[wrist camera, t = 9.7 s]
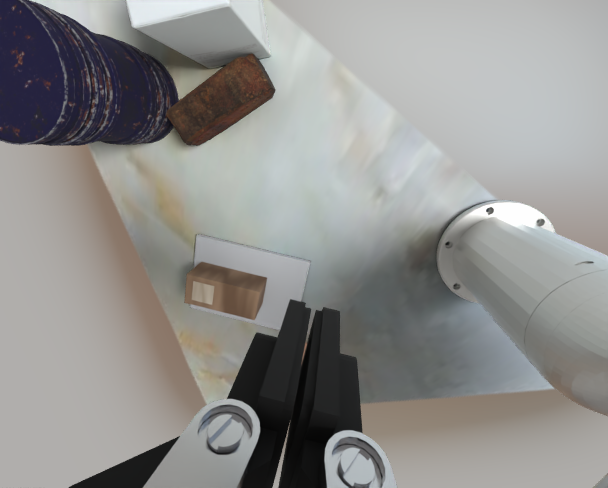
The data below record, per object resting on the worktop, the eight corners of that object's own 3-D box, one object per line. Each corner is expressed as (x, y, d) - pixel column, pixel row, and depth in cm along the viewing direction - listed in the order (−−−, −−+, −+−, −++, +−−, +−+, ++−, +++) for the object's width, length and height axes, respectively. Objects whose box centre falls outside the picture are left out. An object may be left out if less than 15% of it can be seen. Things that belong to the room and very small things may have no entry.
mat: (310, 261, 38) (310, 262, 38) (294, 331, 42) (293, 333, 41) (198, 233, 39) (196, 235, 38) (191, 305, 43) (189, 307, 42)
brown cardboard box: (259, 292, 35) (186, 274, 36) (254, 320, 37) (184, 302, 37) (267, 277, 39) (201, 261, 39) (262, 303, 40) (198, 287, 41)
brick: (204, 146, 35) (185, 147, 31) (184, 115, 34) (162, 111, 30) (279, 94, 33) (270, 87, 28) (260, 59, 32) (247, 46, 27)
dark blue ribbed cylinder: (197, 103, 34) (95, 75, 20) (145, 161, 37) (24, 174, 23) (130, 26, 32) (-34, -63, 18) (82, 95, 35) (-92, 64, 21)
